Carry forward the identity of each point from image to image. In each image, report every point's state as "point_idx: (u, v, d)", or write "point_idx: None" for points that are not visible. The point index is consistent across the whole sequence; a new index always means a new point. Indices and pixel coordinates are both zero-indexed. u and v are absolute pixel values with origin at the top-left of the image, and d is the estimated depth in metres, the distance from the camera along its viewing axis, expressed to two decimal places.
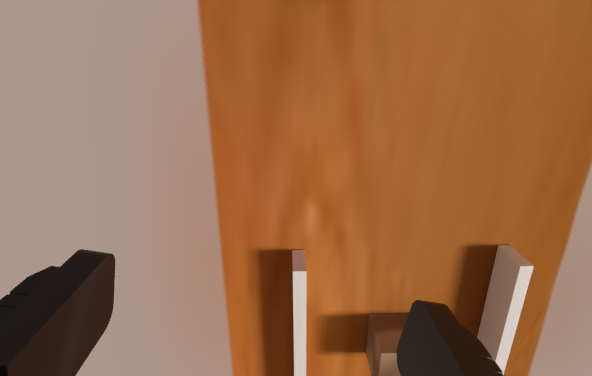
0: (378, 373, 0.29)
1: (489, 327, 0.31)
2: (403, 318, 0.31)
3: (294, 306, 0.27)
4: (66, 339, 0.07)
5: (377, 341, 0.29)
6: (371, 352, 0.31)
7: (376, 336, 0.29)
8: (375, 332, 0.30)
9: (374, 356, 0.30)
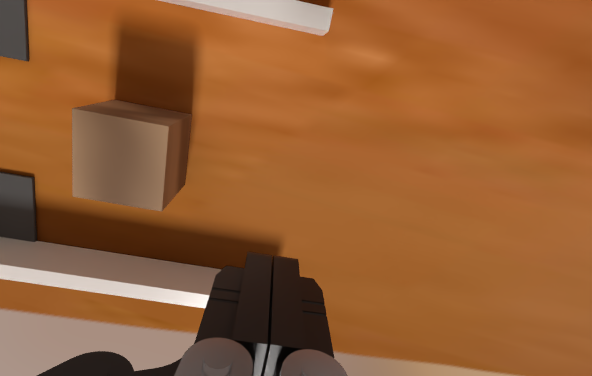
0: (121, 116, 0.17)
1: (160, 270, 0.23)
2: (184, 163, 0.22)
3: None
4: None
5: (174, 122, 0.18)
6: (134, 109, 0.19)
7: (178, 121, 0.19)
8: (181, 121, 0.19)
9: (138, 113, 0.19)
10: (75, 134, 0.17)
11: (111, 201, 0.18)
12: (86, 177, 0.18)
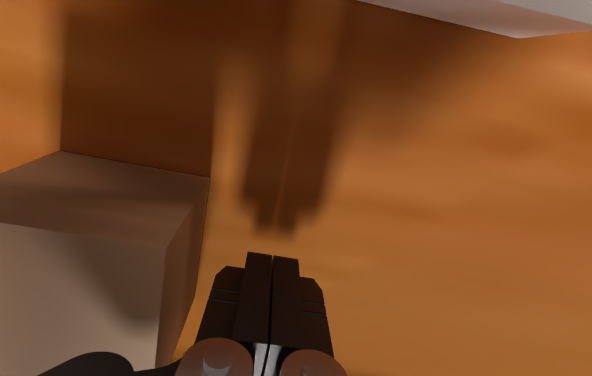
0: (45, 225, 0.07)
1: None
2: (194, 270, 0.11)
3: None
4: None
5: (179, 220, 0.08)
6: (91, 182, 0.09)
7: (187, 214, 0.09)
8: (192, 208, 0.09)
9: (96, 199, 0.08)
10: None
11: None
12: None
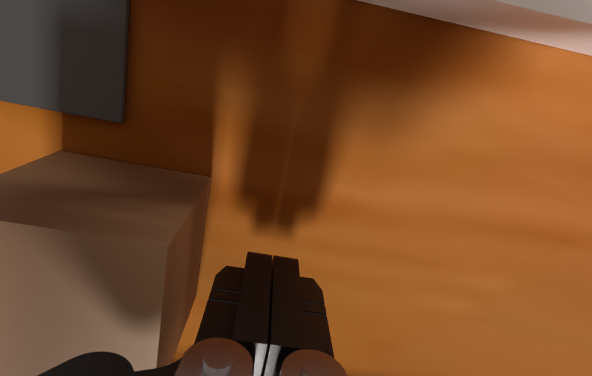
0: (48, 223, 0.07)
1: None
2: (195, 269, 0.11)
3: None
4: None
5: (180, 219, 0.08)
6: (93, 181, 0.09)
7: (188, 213, 0.09)
8: (193, 207, 0.09)
9: (98, 198, 0.08)
10: None
11: None
12: None
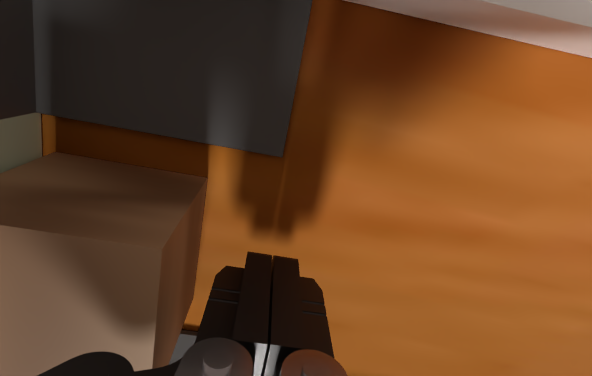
0: (40, 226, 0.07)
1: None
2: (192, 271, 0.11)
3: None
4: None
5: (175, 221, 0.08)
6: (88, 183, 0.09)
7: (184, 214, 0.08)
8: (189, 208, 0.09)
9: (92, 200, 0.08)
10: None
11: None
12: None
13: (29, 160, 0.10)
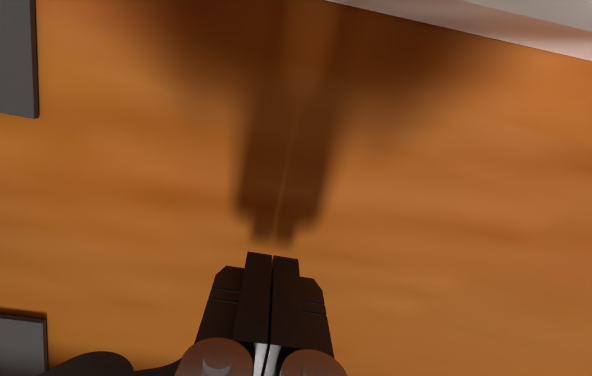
0: None
1: None
2: None
3: None
4: None
5: None
6: None
7: None
8: None
9: None
10: None
11: None
12: None
13: None
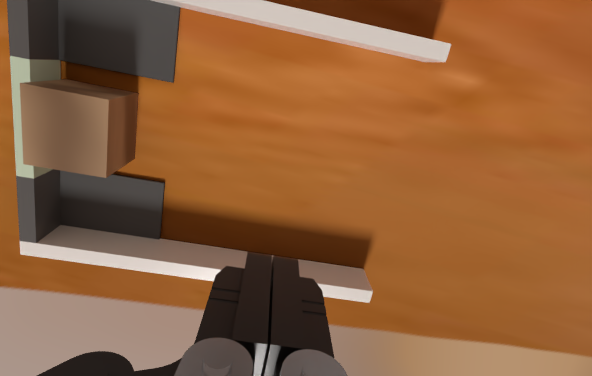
0: (65, 91, 0.19)
1: None
2: (132, 138, 0.24)
3: (398, 33, 0.20)
4: None
5: (116, 97, 0.20)
6: (82, 87, 0.21)
7: (121, 97, 0.21)
8: (124, 97, 0.21)
9: (84, 90, 0.21)
10: (23, 106, 0.19)
11: (59, 168, 0.20)
12: (35, 146, 0.20)
13: None
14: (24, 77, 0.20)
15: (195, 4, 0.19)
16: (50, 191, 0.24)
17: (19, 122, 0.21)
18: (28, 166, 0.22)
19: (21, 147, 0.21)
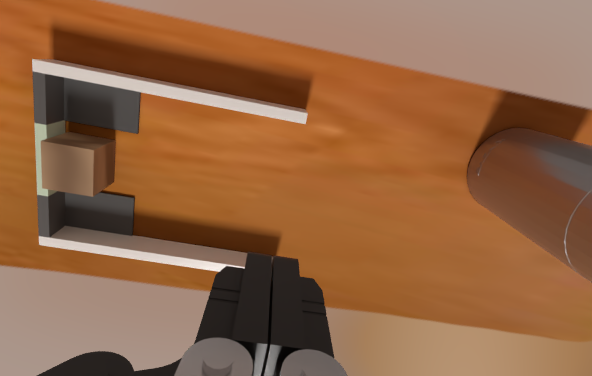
0: (67, 145, 0.32)
1: (208, 252, 0.39)
2: (111, 169, 0.36)
3: (273, 107, 0.32)
4: None
5: (99, 147, 0.33)
6: (78, 138, 0.34)
7: (102, 146, 0.33)
8: (105, 145, 0.34)
9: (79, 142, 0.33)
10: (42, 154, 0.32)
11: (64, 191, 0.33)
12: (49, 177, 0.32)
13: None
14: (43, 135, 0.33)
15: (146, 92, 0.32)
16: (58, 204, 0.36)
17: (39, 162, 0.33)
18: None
19: (40, 177, 0.34)
